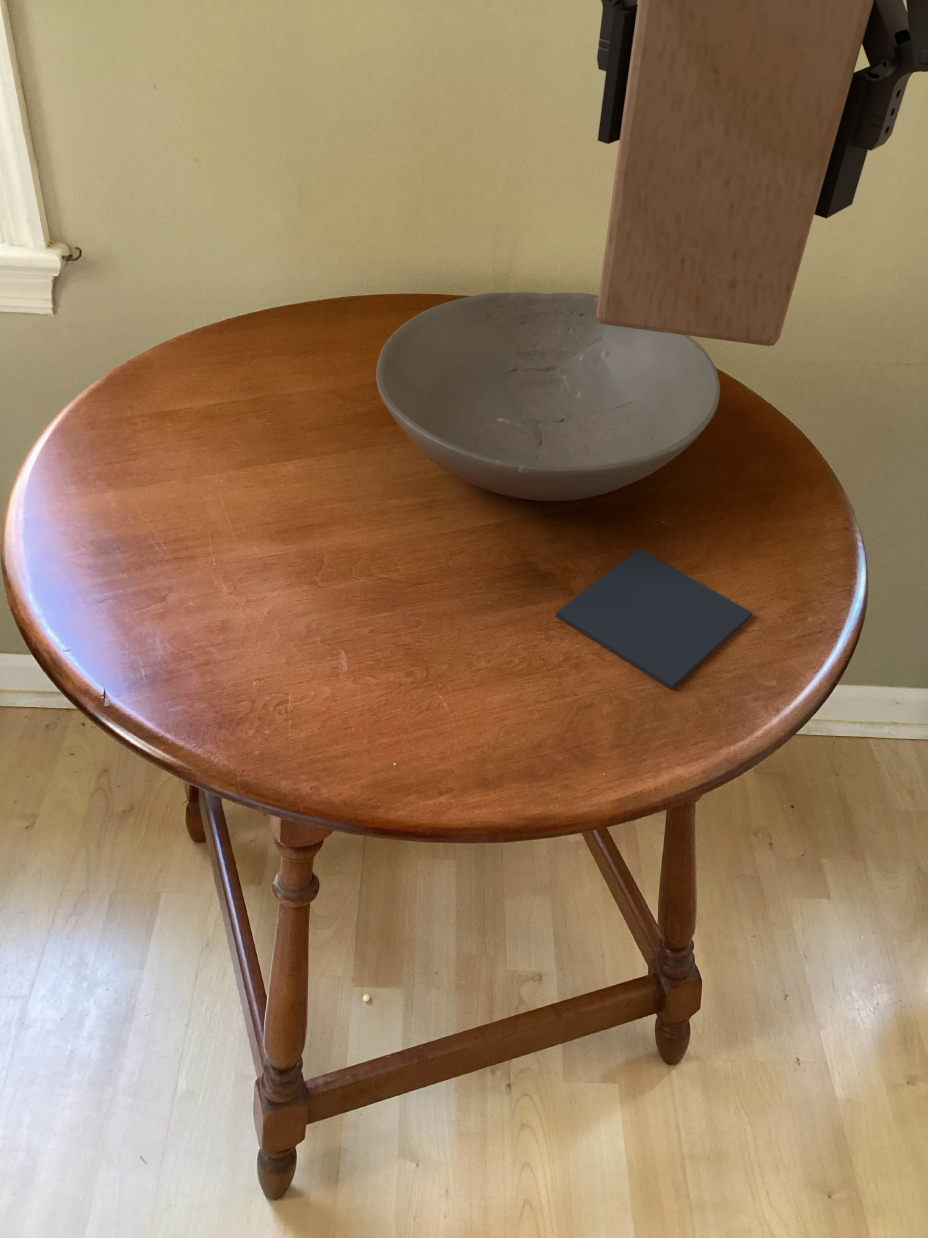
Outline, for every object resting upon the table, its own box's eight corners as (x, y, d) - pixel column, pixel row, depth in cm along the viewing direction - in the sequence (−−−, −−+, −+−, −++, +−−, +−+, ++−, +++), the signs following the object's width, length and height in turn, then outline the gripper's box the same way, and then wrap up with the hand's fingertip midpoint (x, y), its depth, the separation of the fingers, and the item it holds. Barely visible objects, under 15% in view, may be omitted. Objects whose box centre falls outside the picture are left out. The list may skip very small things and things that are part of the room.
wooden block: (777, 350, 57) (899, -84, 42) (594, 326, 58) (651, -105, 43) (776, 264, 63) (880, -135, 49) (612, 244, 65) (667, -152, 50)
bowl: (729, 406, 95) (749, 324, 90) (656, 596, 76) (676, 505, 71) (451, 342, 102) (454, 261, 96) (320, 501, 83) (314, 411, 77)
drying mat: (750, 617, 75) (752, 612, 75) (671, 690, 70) (673, 685, 69) (638, 553, 80) (639, 548, 79) (555, 616, 74) (556, 611, 74)
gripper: (1189, -356, 38) (970, 223, 52) (631, -380, 50) (579, 97, 64) (1120, -363, 34) (903, 267, 48) (530, -387, 46) (499, 125, 60)
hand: (718, 171), depth 56 cm, fingers closed on wooden block, 13 cm apart
